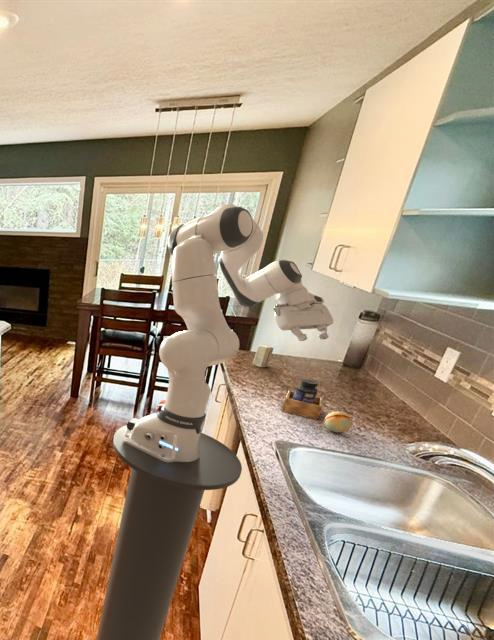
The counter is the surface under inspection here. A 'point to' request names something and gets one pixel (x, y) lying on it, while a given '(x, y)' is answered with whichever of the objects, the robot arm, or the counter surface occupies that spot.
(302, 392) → the pill bottle
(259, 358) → the beige rectangular block
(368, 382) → the counter surface
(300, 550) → the counter surface
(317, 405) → the holder
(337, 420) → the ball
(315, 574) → the counter surface
